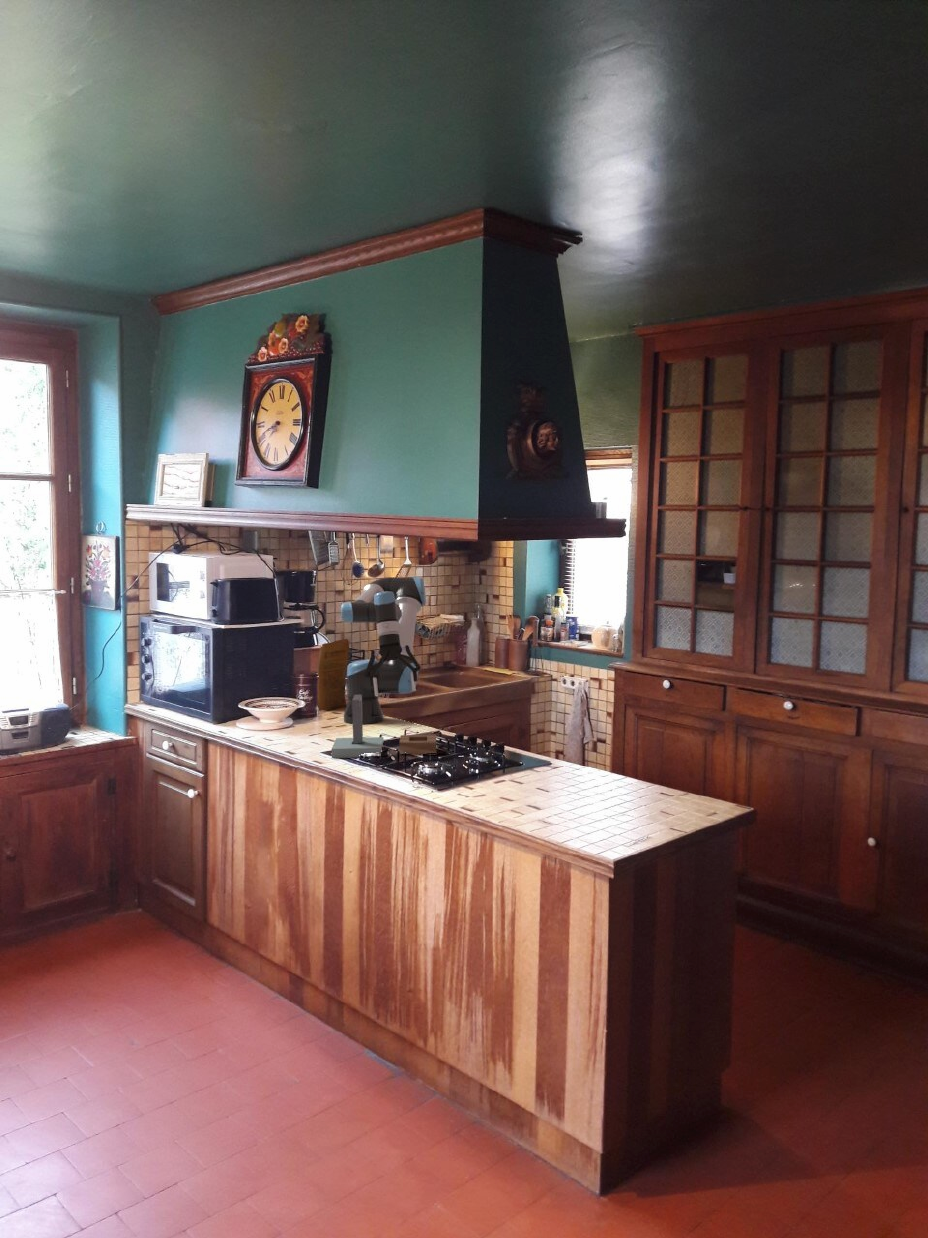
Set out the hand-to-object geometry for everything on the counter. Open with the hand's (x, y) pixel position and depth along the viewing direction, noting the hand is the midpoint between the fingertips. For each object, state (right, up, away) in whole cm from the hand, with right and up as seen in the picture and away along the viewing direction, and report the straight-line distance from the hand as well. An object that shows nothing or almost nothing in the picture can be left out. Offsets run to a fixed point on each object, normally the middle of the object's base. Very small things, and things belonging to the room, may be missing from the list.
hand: (395, 693), depth 353 cm
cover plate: (-11, -18, -21) cm, 30 cm away
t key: (-11, -18, -21) cm, 30 cm away
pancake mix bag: (-29, -10, +56) cm, 64 cm away
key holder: (+9, -17, -21) cm, 29 cm away
